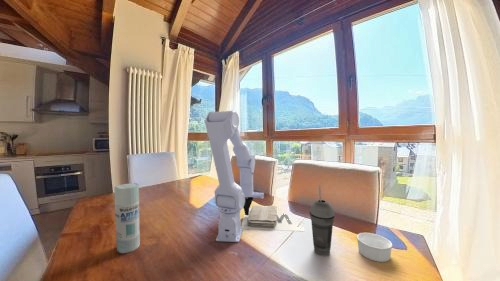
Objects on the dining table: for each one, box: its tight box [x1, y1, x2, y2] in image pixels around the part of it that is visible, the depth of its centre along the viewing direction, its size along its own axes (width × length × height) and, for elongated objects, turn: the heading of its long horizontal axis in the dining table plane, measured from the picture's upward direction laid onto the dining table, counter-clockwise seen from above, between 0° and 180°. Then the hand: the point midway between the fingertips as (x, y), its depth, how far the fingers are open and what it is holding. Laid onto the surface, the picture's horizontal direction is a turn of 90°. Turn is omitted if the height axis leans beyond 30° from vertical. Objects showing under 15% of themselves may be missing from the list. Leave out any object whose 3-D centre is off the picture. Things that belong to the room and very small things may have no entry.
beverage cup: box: [309, 184, 336, 257], centre depth 58 cm, size 7×7×20 cm
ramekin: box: [356, 232, 393, 263], centre depth 57 cm, size 9×9×4 cm
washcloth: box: [247, 205, 278, 227], centre depth 82 cm, size 12×18×3 cm, turn 173°
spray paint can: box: [113, 182, 141, 254], centre depth 61 cm, size 6×6×20 cm
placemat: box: [240, 207, 305, 232], centre depth 83 cm, size 21×24×1 cm
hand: (246, 214), depth 83 cm, fingers closed
